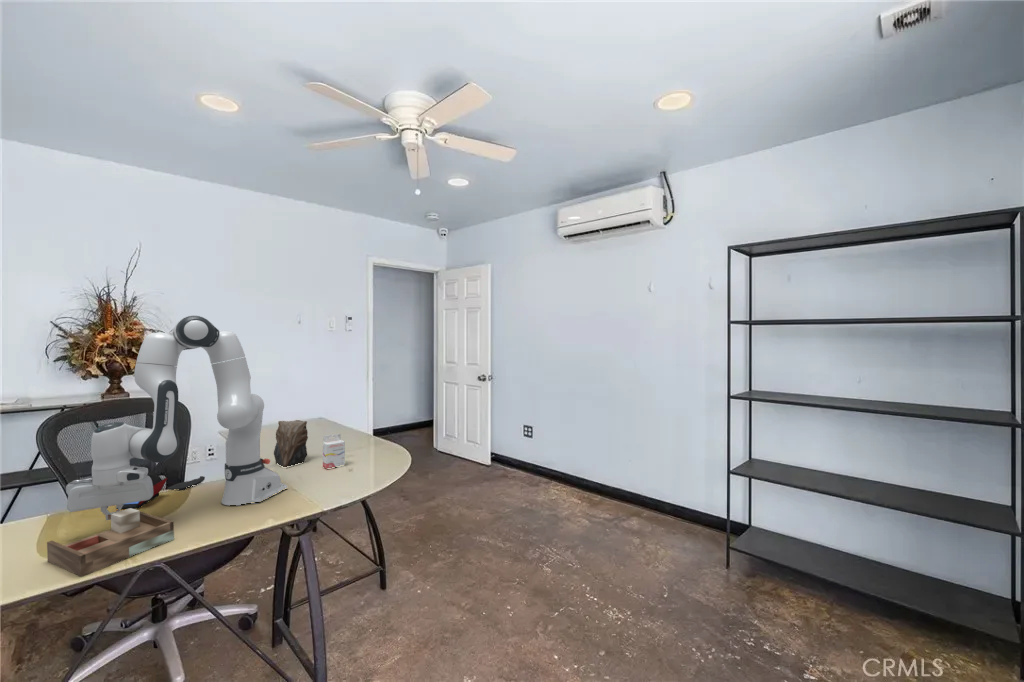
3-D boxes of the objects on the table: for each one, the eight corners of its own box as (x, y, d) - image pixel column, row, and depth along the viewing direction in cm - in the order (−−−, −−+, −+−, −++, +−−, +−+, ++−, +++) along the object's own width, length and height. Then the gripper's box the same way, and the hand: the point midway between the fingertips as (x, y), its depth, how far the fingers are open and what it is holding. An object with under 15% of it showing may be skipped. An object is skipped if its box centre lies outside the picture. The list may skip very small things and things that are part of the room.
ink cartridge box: (326, 470, 201) (326, 438, 200) (322, 467, 204) (322, 435, 204) (345, 466, 206) (344, 434, 206) (341, 463, 210) (340, 432, 210)
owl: (272, 463, 210) (272, 421, 210) (300, 457, 220) (299, 417, 219) (283, 469, 202) (282, 425, 201) (311, 462, 211) (310, 421, 210)
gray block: (130, 523, 140) (130, 507, 140) (140, 526, 138) (139, 510, 138) (111, 530, 136) (110, 514, 135) (120, 533, 134) (119, 517, 133)
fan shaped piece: (213, 480, 188) (213, 477, 188) (181, 492, 175) (181, 488, 175) (198, 478, 190) (198, 475, 190) (165, 490, 177) (165, 486, 177)
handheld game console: (137, 497, 169) (137, 478, 169) (169, 495, 171) (168, 476, 171) (114, 511, 157) (113, 490, 157) (148, 509, 159) (147, 488, 159)
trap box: (140, 528, 143) (140, 511, 143) (174, 539, 136) (173, 521, 136) (47, 561, 123) (47, 542, 123) (81, 576, 116) (80, 556, 116)
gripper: (61, 484, 131) (63, 530, 132) (150, 472, 142) (151, 515, 142) (69, 478, 137) (71, 522, 137) (153, 467, 147) (155, 508, 148)
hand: (112, 518), depth 140 cm, fingers closed
